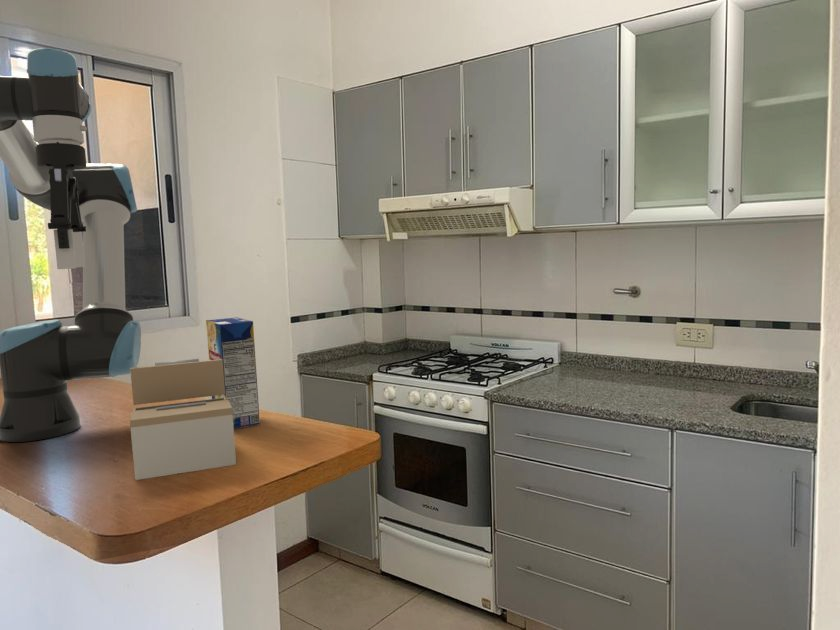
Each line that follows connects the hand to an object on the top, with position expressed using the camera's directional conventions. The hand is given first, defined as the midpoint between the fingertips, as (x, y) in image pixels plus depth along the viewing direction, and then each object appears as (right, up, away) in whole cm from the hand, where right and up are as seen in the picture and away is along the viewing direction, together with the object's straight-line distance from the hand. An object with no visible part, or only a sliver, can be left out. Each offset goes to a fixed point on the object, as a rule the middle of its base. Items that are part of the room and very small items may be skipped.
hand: (72, 268), depth 114 cm
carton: (+19, -34, +1) cm, 39 cm away
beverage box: (+22, -32, +26) cm, 46 cm away
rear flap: (+17, -21, +6) cm, 27 cm away
